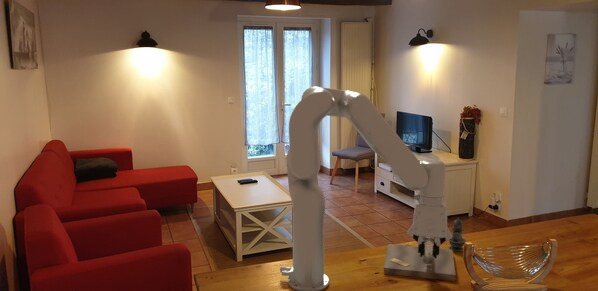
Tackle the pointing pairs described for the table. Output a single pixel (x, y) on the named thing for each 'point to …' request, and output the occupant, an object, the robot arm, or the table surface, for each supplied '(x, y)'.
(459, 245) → the dark grey tower figurine
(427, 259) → the lever
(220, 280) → the table surface
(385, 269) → the lever board
